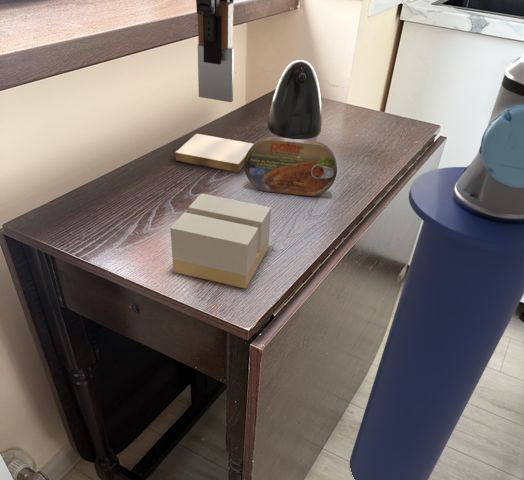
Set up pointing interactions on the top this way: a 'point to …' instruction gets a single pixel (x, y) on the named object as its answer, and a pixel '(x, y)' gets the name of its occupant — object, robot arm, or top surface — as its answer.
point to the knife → (221, 76)
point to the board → (214, 152)
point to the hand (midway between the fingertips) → (215, 60)
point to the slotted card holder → (220, 240)
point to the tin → (290, 166)
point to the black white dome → (296, 104)
